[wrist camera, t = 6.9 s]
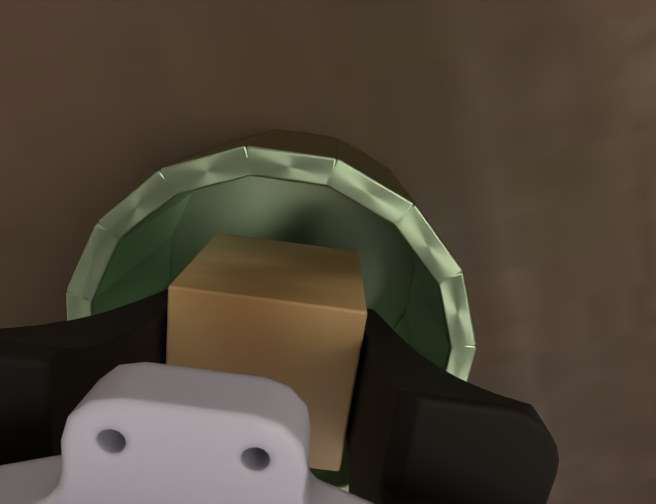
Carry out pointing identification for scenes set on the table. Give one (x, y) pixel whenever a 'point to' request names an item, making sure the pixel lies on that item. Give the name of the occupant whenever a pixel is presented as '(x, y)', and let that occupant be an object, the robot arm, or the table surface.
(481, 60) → the table surface
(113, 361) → the robot arm
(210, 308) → the block
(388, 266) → the canister
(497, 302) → the table surface
